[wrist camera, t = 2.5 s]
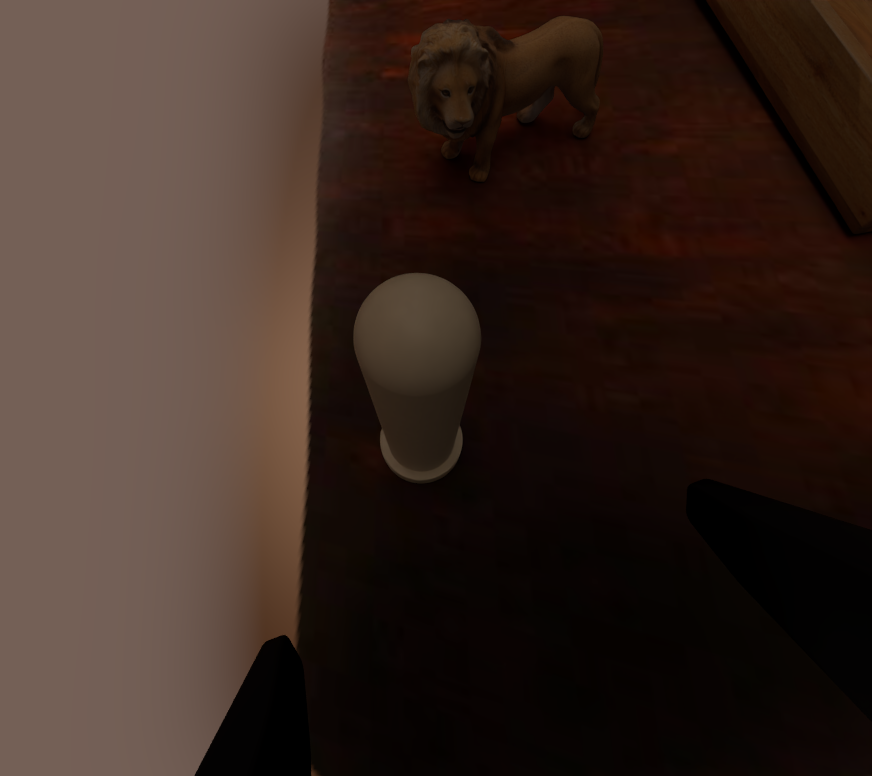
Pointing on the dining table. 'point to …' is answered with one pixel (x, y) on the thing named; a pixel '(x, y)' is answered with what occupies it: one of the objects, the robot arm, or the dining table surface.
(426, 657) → the dining table surface
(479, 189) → the dining table surface
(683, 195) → the dining table surface
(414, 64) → the lion figurine
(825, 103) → the tray
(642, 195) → the dining table surface
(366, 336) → the beige rounded cylinder
